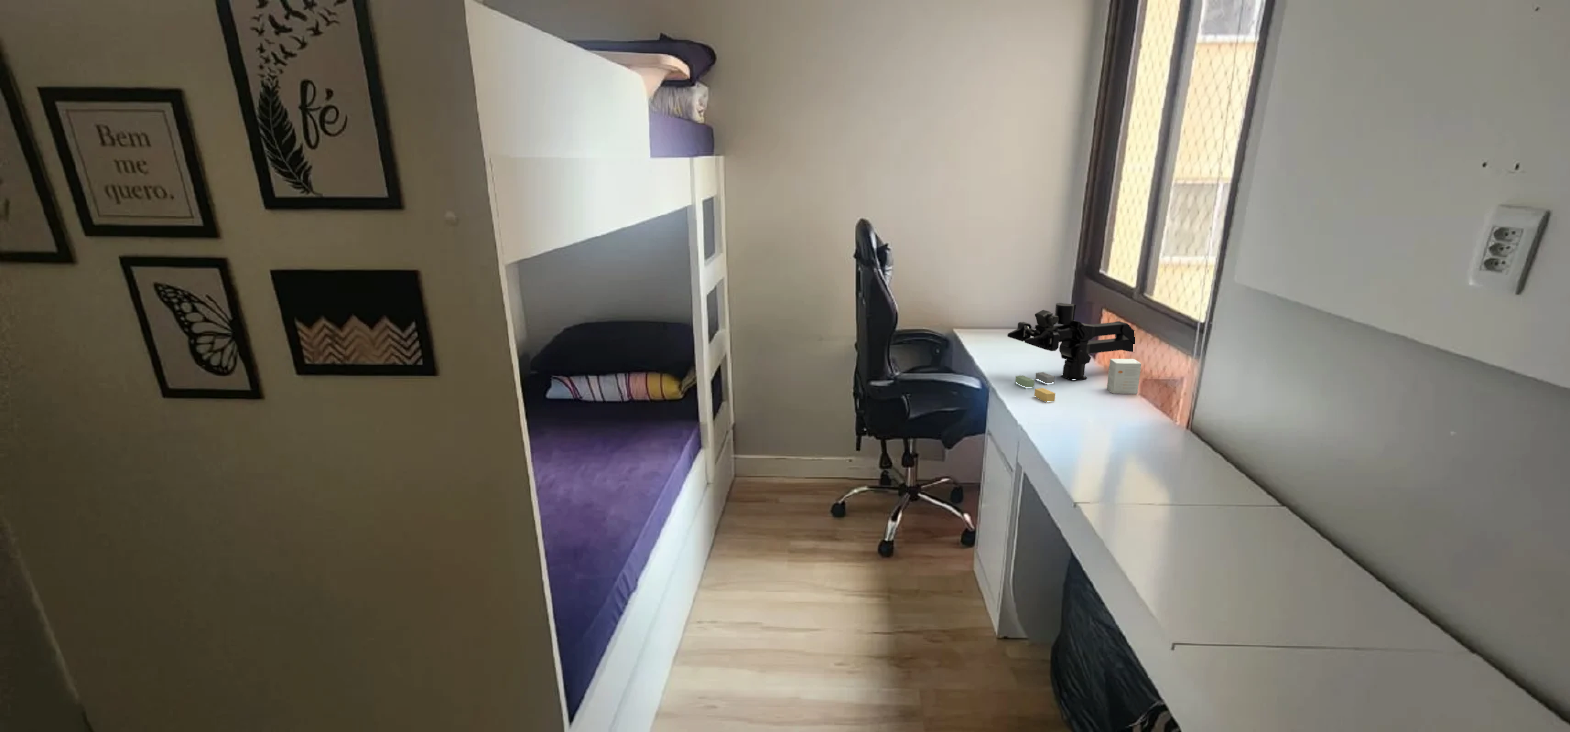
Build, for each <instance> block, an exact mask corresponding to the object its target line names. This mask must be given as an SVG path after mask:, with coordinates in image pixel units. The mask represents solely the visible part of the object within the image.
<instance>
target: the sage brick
mask: <svg viewBox="0 0 1570 732" xmlns="http://www.w3.org/2000/svg"><path fill="white" fill-rule="evenodd" d="M1015 382H1017V383H1018V384H1020V385H1022V386H1025V387H1033V386H1034V387H1035V379H1034V378H1030V377H1028V376H1026V375H1024V374H1023V375H1015V380H1014V383H1015Z"/></svg>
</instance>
